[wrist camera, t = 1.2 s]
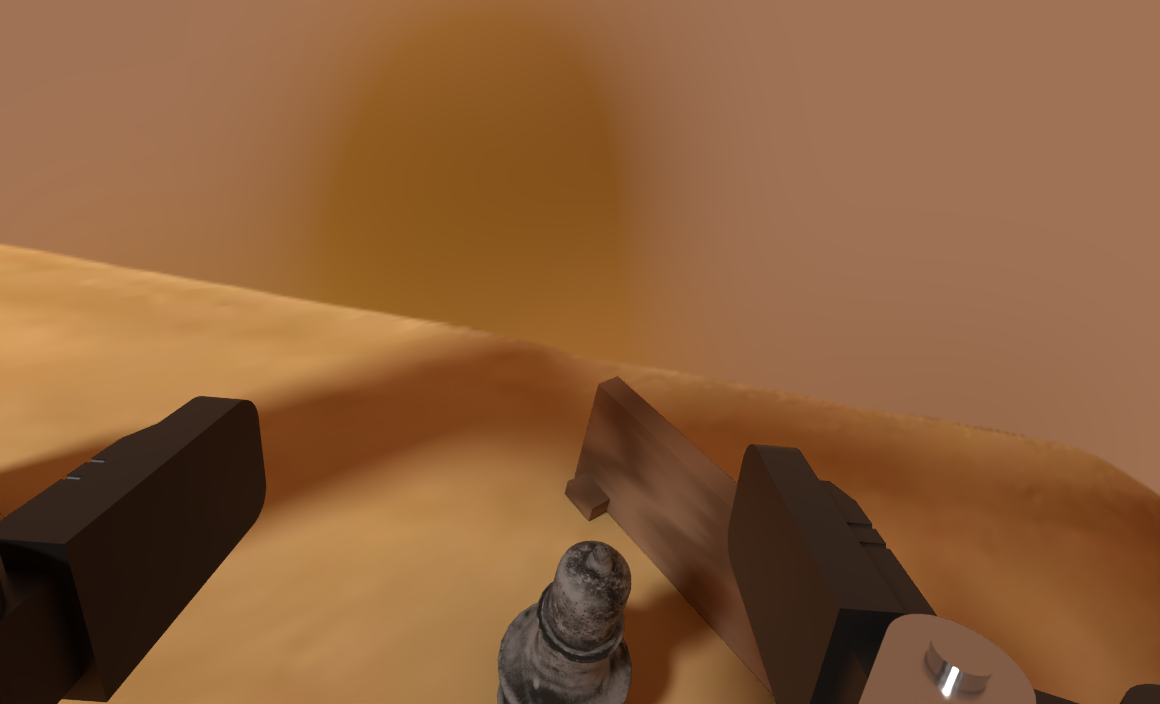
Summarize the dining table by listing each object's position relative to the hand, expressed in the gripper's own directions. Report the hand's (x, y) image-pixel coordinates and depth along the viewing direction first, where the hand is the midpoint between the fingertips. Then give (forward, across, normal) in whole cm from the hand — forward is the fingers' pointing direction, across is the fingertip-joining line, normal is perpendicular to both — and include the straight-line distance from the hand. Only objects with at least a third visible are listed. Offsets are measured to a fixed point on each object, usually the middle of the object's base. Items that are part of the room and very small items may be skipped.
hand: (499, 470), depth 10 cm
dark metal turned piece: (+12, -2, +20) cm, 23 cm away
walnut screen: (+18, -9, +19) cm, 28 cm away
